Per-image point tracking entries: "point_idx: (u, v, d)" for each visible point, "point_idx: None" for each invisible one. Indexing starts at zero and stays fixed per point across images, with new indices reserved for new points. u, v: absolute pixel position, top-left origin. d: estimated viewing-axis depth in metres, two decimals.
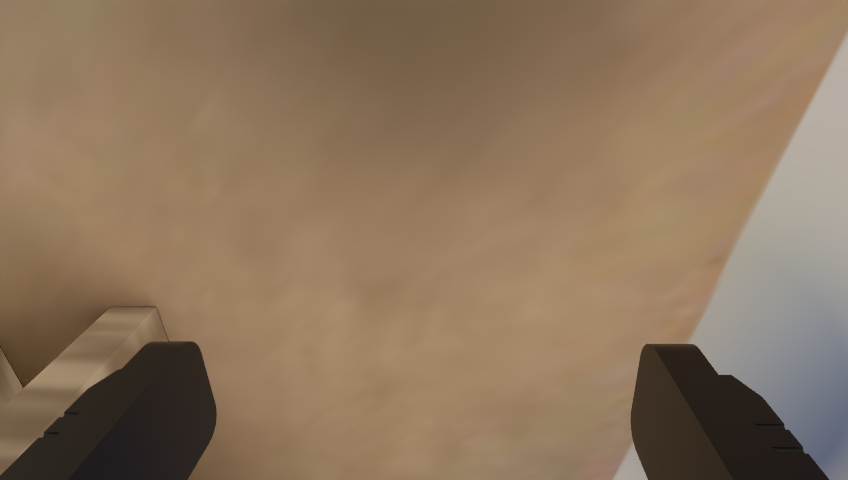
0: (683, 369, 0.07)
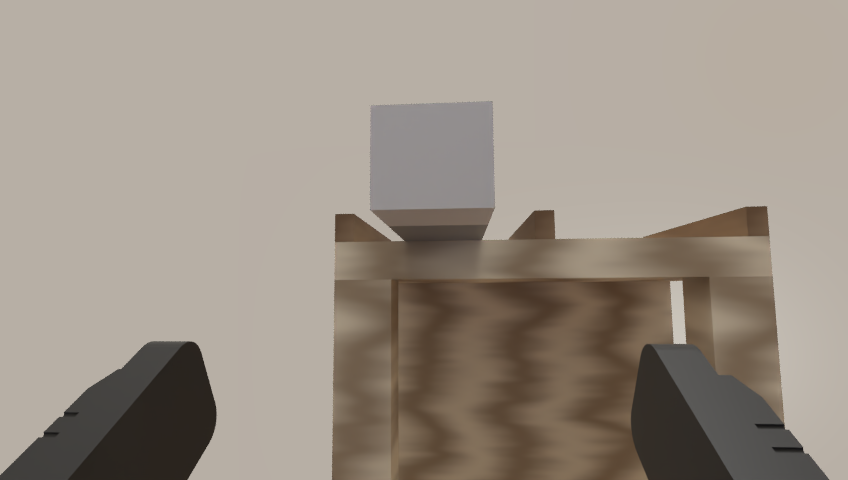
0: (683, 369, 0.07)
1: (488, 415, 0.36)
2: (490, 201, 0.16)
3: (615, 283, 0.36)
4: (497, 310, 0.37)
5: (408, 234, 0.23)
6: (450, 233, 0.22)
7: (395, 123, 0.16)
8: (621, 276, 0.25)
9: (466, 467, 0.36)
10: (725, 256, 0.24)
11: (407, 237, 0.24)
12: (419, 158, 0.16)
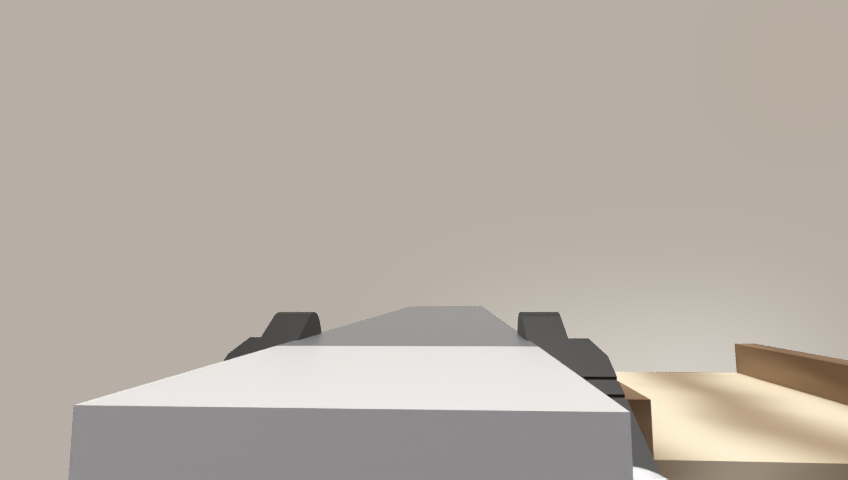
0: (539, 331, 0.08)
1: None
2: None
3: None
4: None
5: None
6: None
7: None
8: None
9: None
10: None
11: None
12: None
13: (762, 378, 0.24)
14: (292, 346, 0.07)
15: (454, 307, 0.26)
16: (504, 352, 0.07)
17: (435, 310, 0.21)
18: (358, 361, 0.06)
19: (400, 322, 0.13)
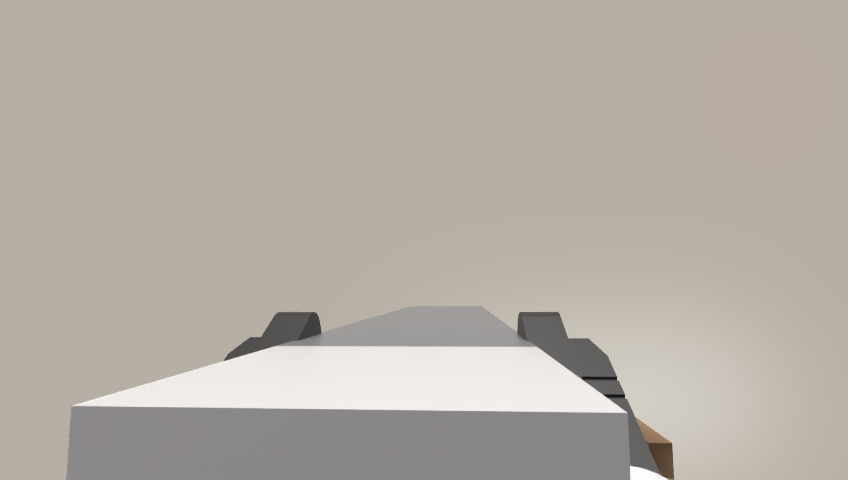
0: (539, 331, 0.08)
1: None
2: None
3: None
4: None
5: None
6: None
7: None
8: None
9: None
10: None
11: None
12: None
13: None
14: (291, 346, 0.07)
15: (454, 307, 0.26)
16: (503, 352, 0.07)
17: (435, 310, 0.21)
18: (357, 361, 0.06)
19: (399, 322, 0.13)
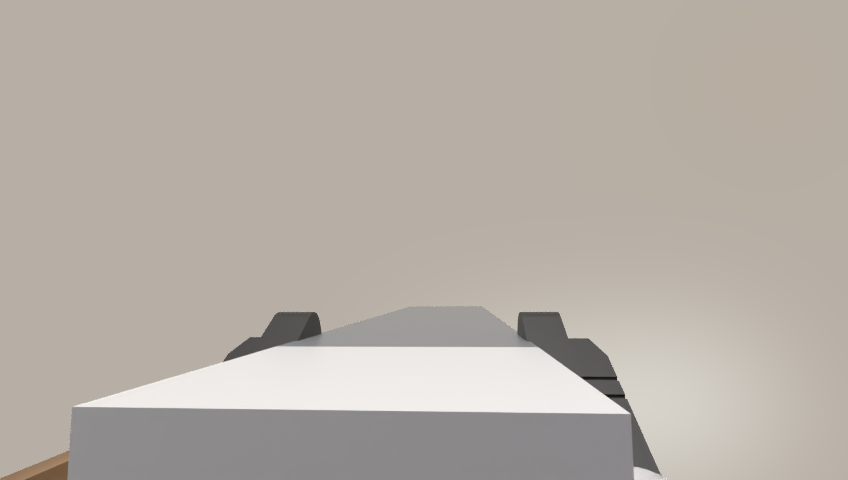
0: (539, 331, 0.08)
1: None
2: None
3: None
4: None
5: None
6: None
7: None
8: None
9: None
10: None
11: None
12: None
13: None
14: (292, 347, 0.07)
15: (454, 307, 0.25)
16: (504, 353, 0.07)
17: (435, 310, 0.21)
18: (358, 362, 0.06)
19: (400, 322, 0.13)
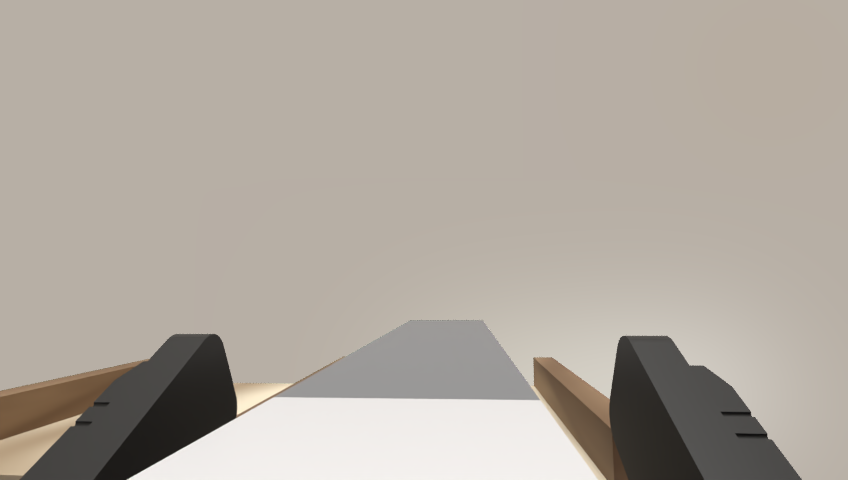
0: (655, 359, 0.08)
1: None
2: None
3: None
4: None
5: None
6: None
7: None
8: None
9: None
10: None
11: None
12: None
13: (540, 392, 0.24)
14: (290, 398, 0.07)
15: (454, 322, 0.25)
16: (506, 411, 0.06)
17: (435, 328, 0.21)
18: (356, 429, 0.06)
19: (400, 351, 0.13)
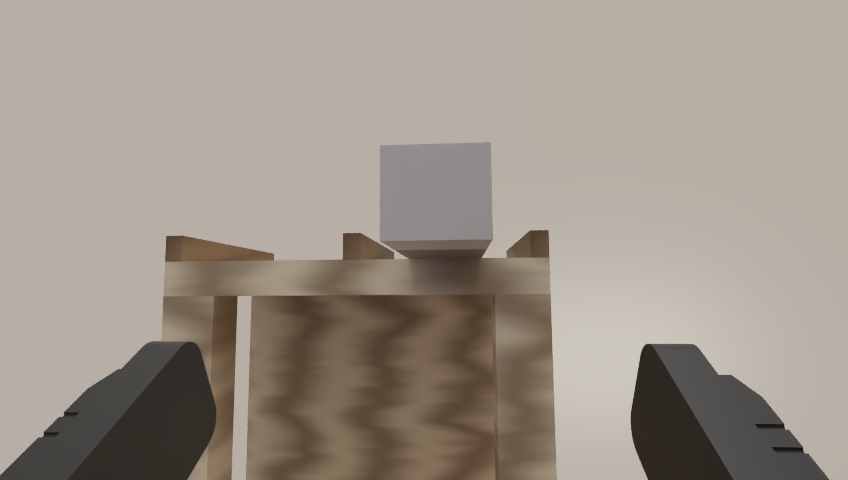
0: (683, 369, 0.07)
1: (352, 419, 0.39)
2: (488, 233, 0.17)
3: (473, 295, 0.39)
4: (364, 320, 0.39)
5: (412, 254, 0.24)
6: (452, 254, 0.24)
7: (402, 162, 0.18)
8: (417, 293, 0.27)
9: (331, 467, 0.38)
10: (509, 276, 0.27)
11: (411, 256, 0.26)
12: (424, 194, 0.18)
13: None
14: None
15: None
16: None
17: None
18: None
19: None
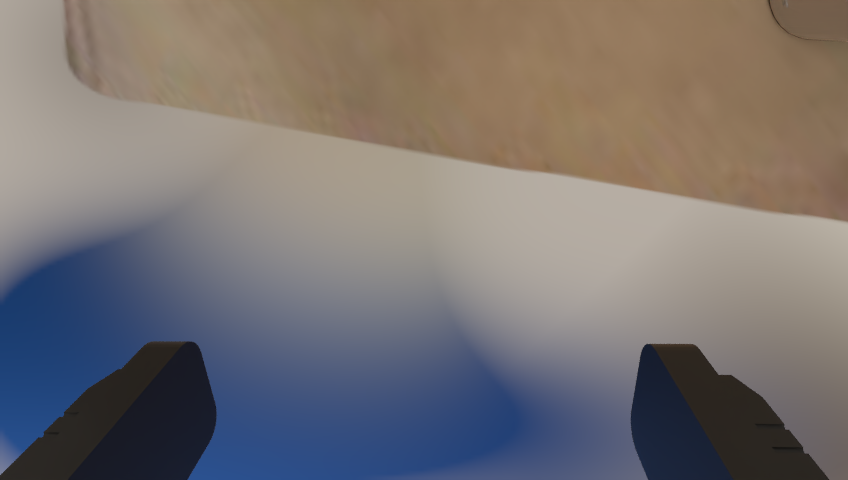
0: (683, 369, 0.07)
1: None
2: None
3: None
4: None
5: None
6: None
7: None
8: None
9: None
10: None
11: None
12: None
13: None
14: None
15: None
16: None
17: None
18: None
19: None
